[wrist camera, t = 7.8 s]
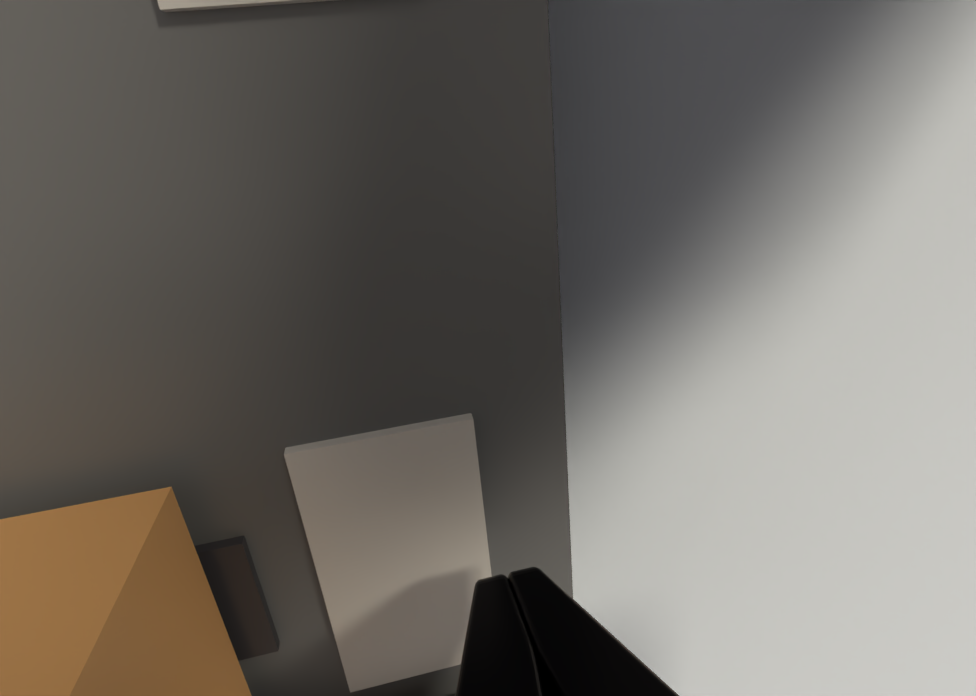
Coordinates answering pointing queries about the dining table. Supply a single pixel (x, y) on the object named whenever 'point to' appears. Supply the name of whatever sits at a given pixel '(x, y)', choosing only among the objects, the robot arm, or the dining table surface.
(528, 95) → the breaker panel
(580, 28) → the dining table surface
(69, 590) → the block
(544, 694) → the robot arm
